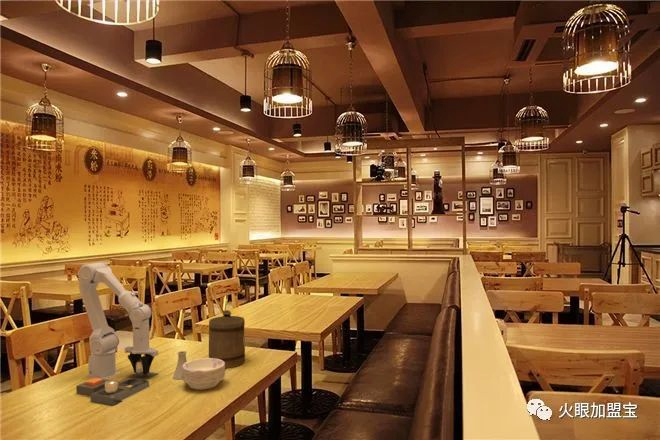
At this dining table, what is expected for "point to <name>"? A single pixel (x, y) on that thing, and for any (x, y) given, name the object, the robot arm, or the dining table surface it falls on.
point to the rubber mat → (144, 377)
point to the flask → (180, 365)
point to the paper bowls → (203, 372)
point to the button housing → (89, 388)
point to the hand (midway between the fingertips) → (141, 372)
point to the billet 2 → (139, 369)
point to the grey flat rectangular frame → (120, 391)
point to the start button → (94, 382)
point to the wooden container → (227, 339)
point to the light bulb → (111, 387)
